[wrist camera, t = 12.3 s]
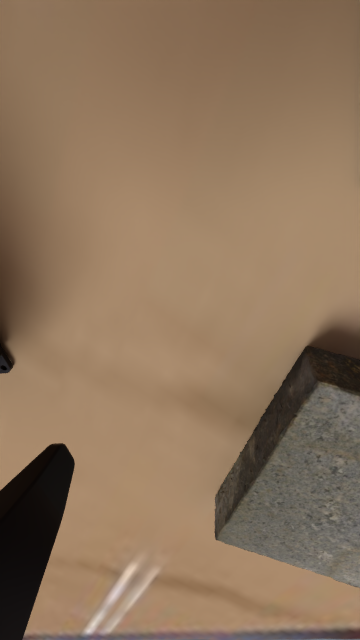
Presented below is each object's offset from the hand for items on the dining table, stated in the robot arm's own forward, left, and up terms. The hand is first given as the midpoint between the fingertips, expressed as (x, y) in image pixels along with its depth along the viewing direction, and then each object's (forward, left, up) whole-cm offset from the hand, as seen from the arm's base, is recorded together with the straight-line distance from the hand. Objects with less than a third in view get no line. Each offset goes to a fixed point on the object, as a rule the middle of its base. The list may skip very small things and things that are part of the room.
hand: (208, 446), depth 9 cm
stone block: (+6, -17, -13) cm, 22 cm away
